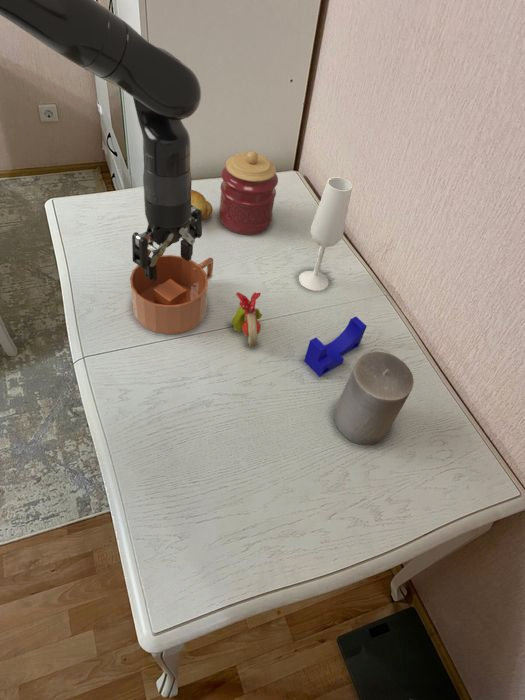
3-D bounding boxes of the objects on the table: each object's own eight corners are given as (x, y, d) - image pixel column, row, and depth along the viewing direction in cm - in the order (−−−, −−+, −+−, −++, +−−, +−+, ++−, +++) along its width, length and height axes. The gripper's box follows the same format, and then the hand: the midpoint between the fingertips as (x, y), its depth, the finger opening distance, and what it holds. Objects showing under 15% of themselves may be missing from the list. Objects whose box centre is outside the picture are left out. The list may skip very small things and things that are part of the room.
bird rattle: (266, 349, 100) (258, 307, 102) (279, 331, 89) (270, 284, 91) (235, 353, 98) (228, 309, 100) (245, 335, 88) (237, 287, 90)
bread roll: (209, 207, 125) (210, 178, 119) (216, 231, 119) (218, 201, 113) (156, 209, 122) (155, 179, 116) (161, 234, 116) (160, 203, 110)
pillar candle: (390, 408, 91) (419, 355, 80) (383, 453, 85) (414, 403, 74) (338, 392, 92) (360, 338, 81) (328, 435, 86) (350, 383, 75)
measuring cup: (168, 346, 94) (167, 318, 89) (117, 306, 99) (113, 277, 94) (235, 298, 105) (239, 271, 99) (187, 264, 110) (187, 236, 104)
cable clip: (319, 377, 94) (326, 356, 90) (303, 361, 96) (310, 340, 92) (363, 351, 100) (372, 330, 95) (348, 336, 102) (356, 316, 97)
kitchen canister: (277, 234, 121) (289, 167, 108) (224, 238, 118) (230, 168, 104) (263, 203, 129) (272, 137, 116) (213, 205, 125) (217, 137, 112)
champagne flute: (312, 266, 115) (337, 170, 97) (334, 282, 112) (364, 186, 94) (292, 278, 111) (314, 180, 93) (315, 295, 109) (342, 198, 91)
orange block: (170, 317, 98) (169, 301, 95) (154, 305, 100) (153, 289, 97) (186, 306, 101) (186, 290, 98) (170, 295, 103) (170, 278, 99)
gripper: (183, 166, 86) (182, 243, 98) (116, 196, 78) (125, 275, 90) (215, 186, 84) (210, 262, 96) (149, 218, 76) (153, 296, 88)
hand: (169, 268), depth 93 cm, fingers open, 8 cm apart
